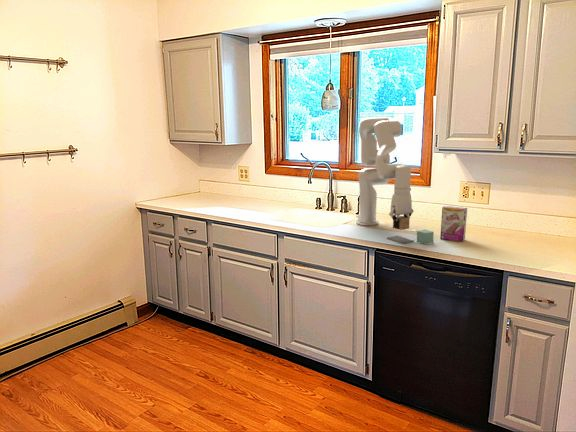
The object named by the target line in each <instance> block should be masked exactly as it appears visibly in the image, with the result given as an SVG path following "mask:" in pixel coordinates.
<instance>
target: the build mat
mask: <svg viewBox="0 0 576 432" xmlns="http://www.w3.org/2000/svg"><path fill="white" fill-rule="evenodd" d="M386 239H387V240H389V241H393V242H396V243H399V244H403V245H404V244H405V245H406V244H410V243H415V240H413V239H409V238H406V237H402V236H399V235H393V236H387V237H386Z"/></svg>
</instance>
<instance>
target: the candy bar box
mask: <svg viewBox="0 0 576 432" xmlns="http://www.w3.org/2000/svg"><path fill="white" fill-rule="evenodd" d="M467 217H468V207H463V206H462V207H461V206H451V205H444V206H442V208H441V224H440V237H439V239H440V240H446V241H453V242H454V241H455V242H460V243H463V242H464V241H465V240H466V232H467V231H466V230H467Z"/></svg>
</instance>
